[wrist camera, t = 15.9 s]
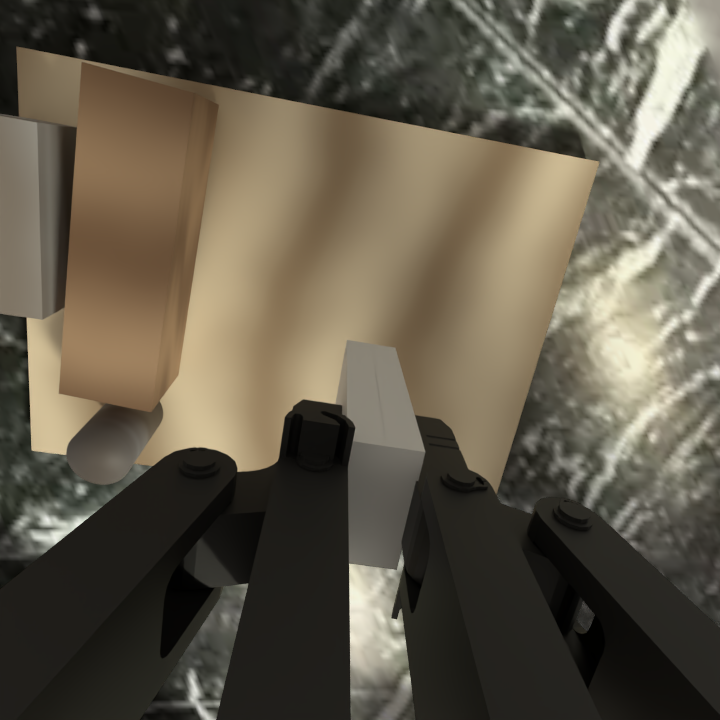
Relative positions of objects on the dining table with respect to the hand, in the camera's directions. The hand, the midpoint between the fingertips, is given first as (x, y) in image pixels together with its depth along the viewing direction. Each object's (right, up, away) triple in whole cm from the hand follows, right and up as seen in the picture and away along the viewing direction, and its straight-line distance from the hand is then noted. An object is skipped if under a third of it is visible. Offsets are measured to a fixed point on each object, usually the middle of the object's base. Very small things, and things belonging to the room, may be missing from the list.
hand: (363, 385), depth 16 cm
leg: (-9, +6, +7) cm, 13 cm away
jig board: (-3, +3, +10) cm, 11 cm away
